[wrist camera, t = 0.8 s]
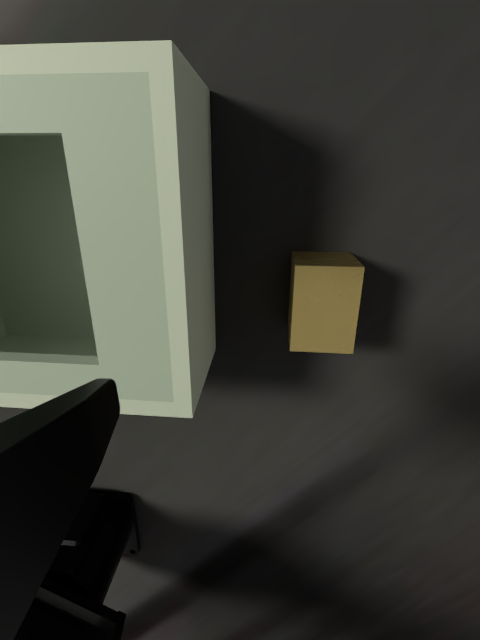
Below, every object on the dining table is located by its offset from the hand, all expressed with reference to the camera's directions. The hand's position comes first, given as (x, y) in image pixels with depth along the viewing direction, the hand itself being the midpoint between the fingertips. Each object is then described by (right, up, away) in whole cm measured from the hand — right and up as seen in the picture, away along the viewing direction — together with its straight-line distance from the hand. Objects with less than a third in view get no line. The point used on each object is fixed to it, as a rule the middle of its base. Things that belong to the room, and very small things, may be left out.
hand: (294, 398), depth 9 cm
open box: (-10, +7, +12) cm, 17 cm away
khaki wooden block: (+3, +4, +12) cm, 13 cm away
